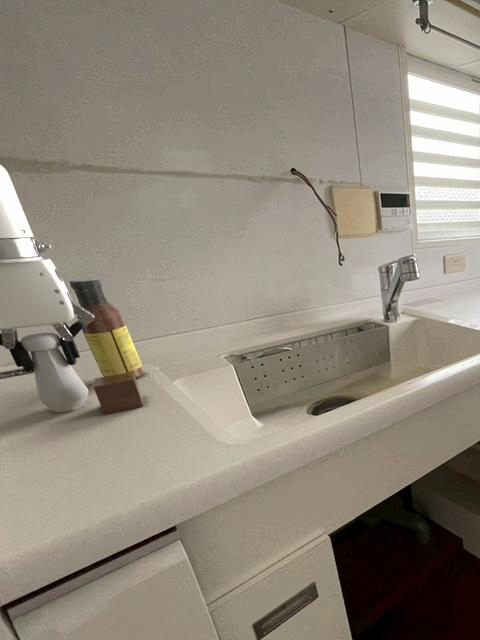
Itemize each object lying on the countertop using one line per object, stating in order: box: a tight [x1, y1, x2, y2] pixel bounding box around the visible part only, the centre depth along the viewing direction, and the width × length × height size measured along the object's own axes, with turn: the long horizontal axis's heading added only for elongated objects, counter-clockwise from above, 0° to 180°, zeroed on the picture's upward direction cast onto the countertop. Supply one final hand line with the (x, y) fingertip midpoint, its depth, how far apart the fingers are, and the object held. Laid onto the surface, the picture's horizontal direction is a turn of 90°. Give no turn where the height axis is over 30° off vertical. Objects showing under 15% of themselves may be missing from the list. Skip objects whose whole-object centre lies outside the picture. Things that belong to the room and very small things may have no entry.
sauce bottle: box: [69, 277, 144, 379], centre depth 78 cm, size 6×6×20 cm
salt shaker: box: [20, 332, 89, 414], centre depth 67 cm, size 6×6×13 cm
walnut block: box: [93, 372, 144, 415], centre depth 69 cm, size 5×5×5 cm
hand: (51, 365), depth 66 cm, fingers closed on salt shaker, 4 cm apart
